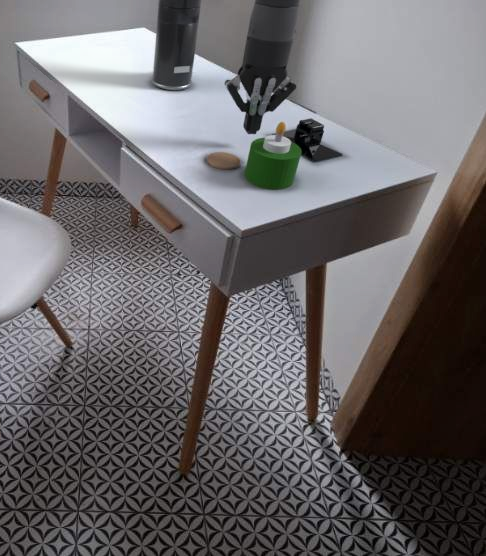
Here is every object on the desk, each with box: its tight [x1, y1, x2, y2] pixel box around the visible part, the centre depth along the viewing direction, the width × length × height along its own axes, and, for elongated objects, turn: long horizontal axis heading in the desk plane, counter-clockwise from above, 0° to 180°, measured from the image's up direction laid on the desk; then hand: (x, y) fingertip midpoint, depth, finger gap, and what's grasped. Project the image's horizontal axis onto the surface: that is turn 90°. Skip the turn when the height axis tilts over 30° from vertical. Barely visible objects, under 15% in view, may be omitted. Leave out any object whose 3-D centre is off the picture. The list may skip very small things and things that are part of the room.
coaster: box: [206, 151, 241, 170], centre depth 93 cm, size 6×6×1 cm
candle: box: [244, 121, 302, 191], centre depth 86 cm, size 8×8×10 cm
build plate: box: [270, 117, 343, 163], centre depth 98 cm, size 12×7×5 cm, turn 26°
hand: (250, 132), depth 96 cm, fingers closed
